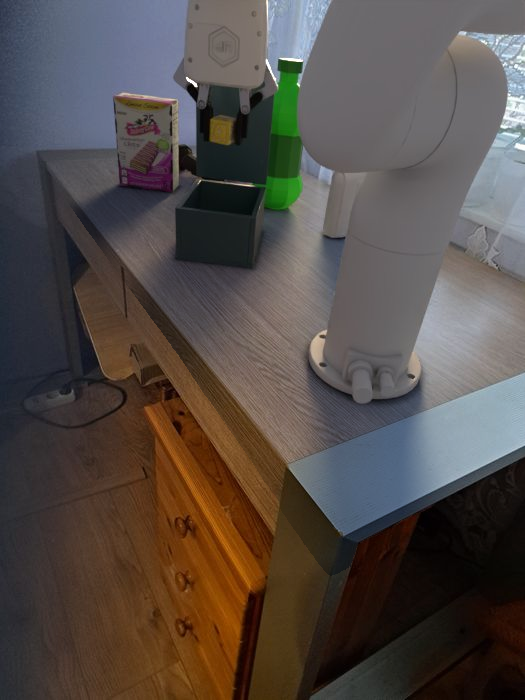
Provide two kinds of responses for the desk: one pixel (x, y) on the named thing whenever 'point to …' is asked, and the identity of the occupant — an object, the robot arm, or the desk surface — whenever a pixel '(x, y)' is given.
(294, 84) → the plastic bottle
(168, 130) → the candy bar box
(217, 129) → the alphabet block
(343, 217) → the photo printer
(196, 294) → the desk surface
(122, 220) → the desk surface
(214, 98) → the lid
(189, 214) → the dark green open box
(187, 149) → the microphone
